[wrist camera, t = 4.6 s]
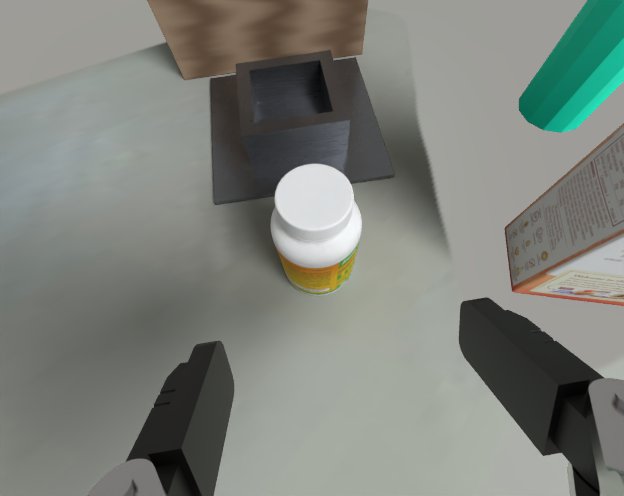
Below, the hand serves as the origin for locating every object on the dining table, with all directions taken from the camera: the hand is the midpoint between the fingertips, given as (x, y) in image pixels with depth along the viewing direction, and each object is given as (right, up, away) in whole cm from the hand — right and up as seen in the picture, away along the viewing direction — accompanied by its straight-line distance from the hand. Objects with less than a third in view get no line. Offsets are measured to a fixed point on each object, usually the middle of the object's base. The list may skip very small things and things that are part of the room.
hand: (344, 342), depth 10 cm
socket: (-3, +15, +20) cm, 25 cm away
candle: (+22, +17, +19) cm, 34 cm away
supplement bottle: (-1, +2, +14) cm, 14 cm away
